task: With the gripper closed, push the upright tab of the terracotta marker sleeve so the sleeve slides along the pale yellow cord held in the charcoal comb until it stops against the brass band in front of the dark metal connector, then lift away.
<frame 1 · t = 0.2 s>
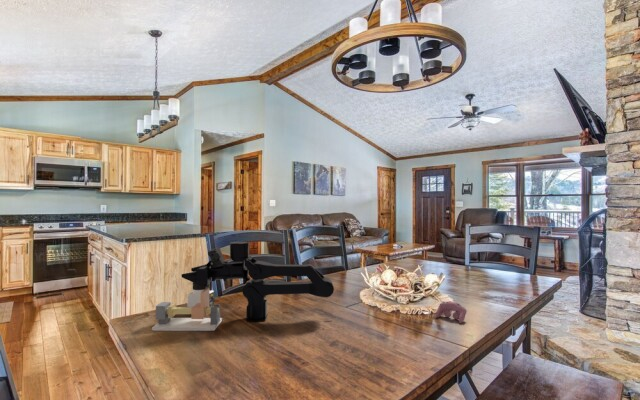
hand: (186, 272, 119), 16 cm above the table, tool horizontal, fingers open, 9 cm apart
marker sleeve: (200, 302, 112), point 8 cm above the table, slide at 0.0 cm
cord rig: (188, 325, 112), on the table
medicine bottle: (200, 311, 127), on the table
video game controller: (451, 319, 120), on the table
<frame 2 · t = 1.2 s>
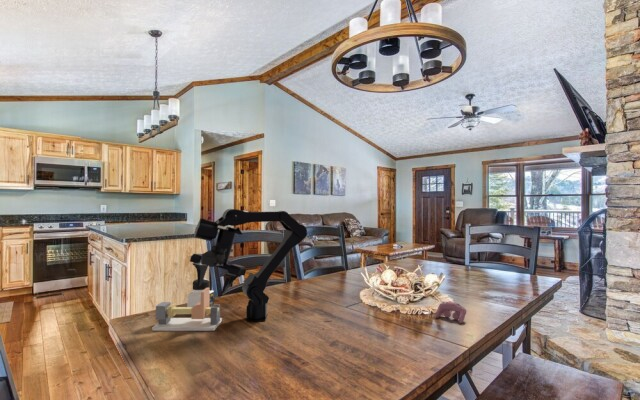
hand: (210, 289, 112), 12 cm above the table, tool tilted 15°, fingers open, 9 cm apart
nothing on the table moved.
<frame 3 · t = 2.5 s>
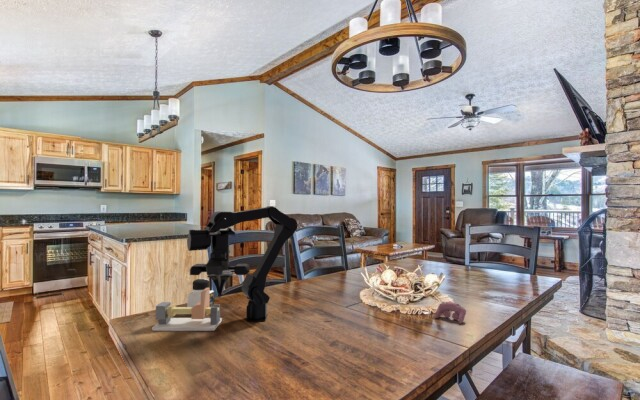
hand: (220, 294, 112), 10 cm above the table, tool pointing down, fingers closed
nothing on the table moved.
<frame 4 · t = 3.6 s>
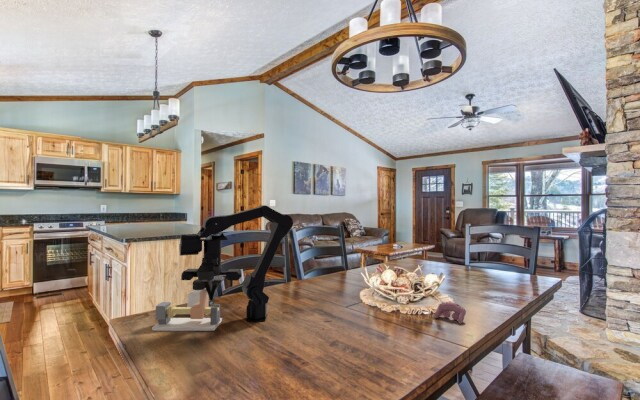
hand: (211, 300, 112), 9 cm above the table, tool pointing down, fingers closed
marker sleeve: (199, 302, 112), point 8 cm above the table, slide at 0.3 cm, touching gripper
everything else where it was.
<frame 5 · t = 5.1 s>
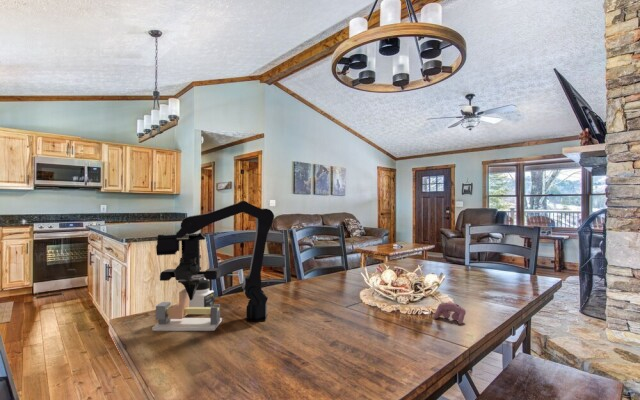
hand: (191, 299, 112), 9 cm above the table, tool pointing down, fingers closed
marker sleeve: (179, 302, 112), point 8 cm above the table, slide at 7.0 cm, touching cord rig, gripper
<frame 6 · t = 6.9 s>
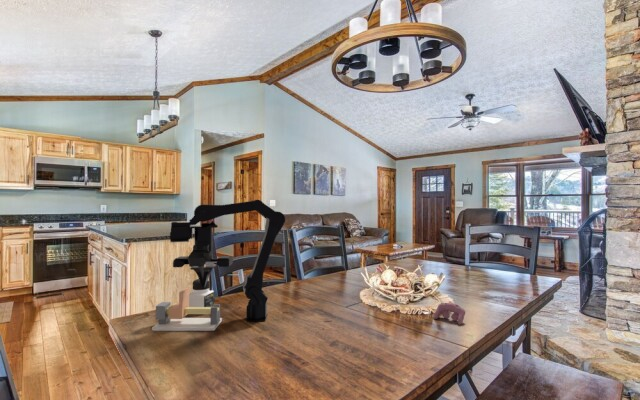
hand: (203, 286, 114), 13 cm above the table, tool pointing down, fingers closed
marker sleeve: (179, 302, 112), point 8 cm above the table, slide at 7.0 cm, touching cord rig
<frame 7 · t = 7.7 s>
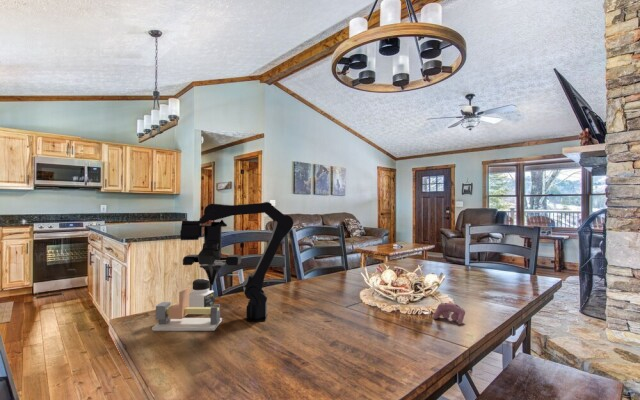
hand: (212, 284, 115), 13 cm above the table, tool pointing down, fingers closed
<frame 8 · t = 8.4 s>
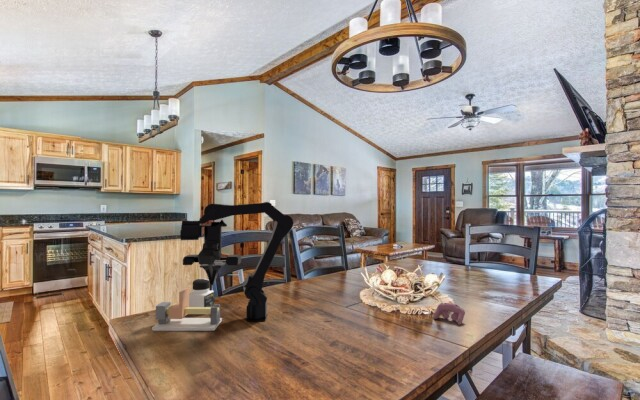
hand: (212, 284, 115), 13 cm above the table, tool pointing down, fingers closed
at the end: marker sleeve slide at 7.0 cm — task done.
